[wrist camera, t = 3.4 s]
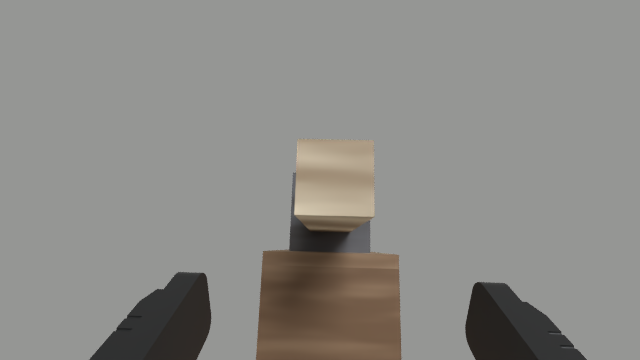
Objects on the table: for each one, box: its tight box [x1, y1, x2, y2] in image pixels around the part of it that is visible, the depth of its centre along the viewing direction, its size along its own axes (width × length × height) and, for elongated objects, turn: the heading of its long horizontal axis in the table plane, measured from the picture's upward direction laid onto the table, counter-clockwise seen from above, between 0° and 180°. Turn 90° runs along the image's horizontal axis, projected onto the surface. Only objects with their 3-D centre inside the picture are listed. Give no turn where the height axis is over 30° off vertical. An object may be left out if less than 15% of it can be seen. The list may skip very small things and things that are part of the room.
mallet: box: [289, 139, 375, 253], centre depth 25 cm, size 22×7×7 cm, turn 179°
